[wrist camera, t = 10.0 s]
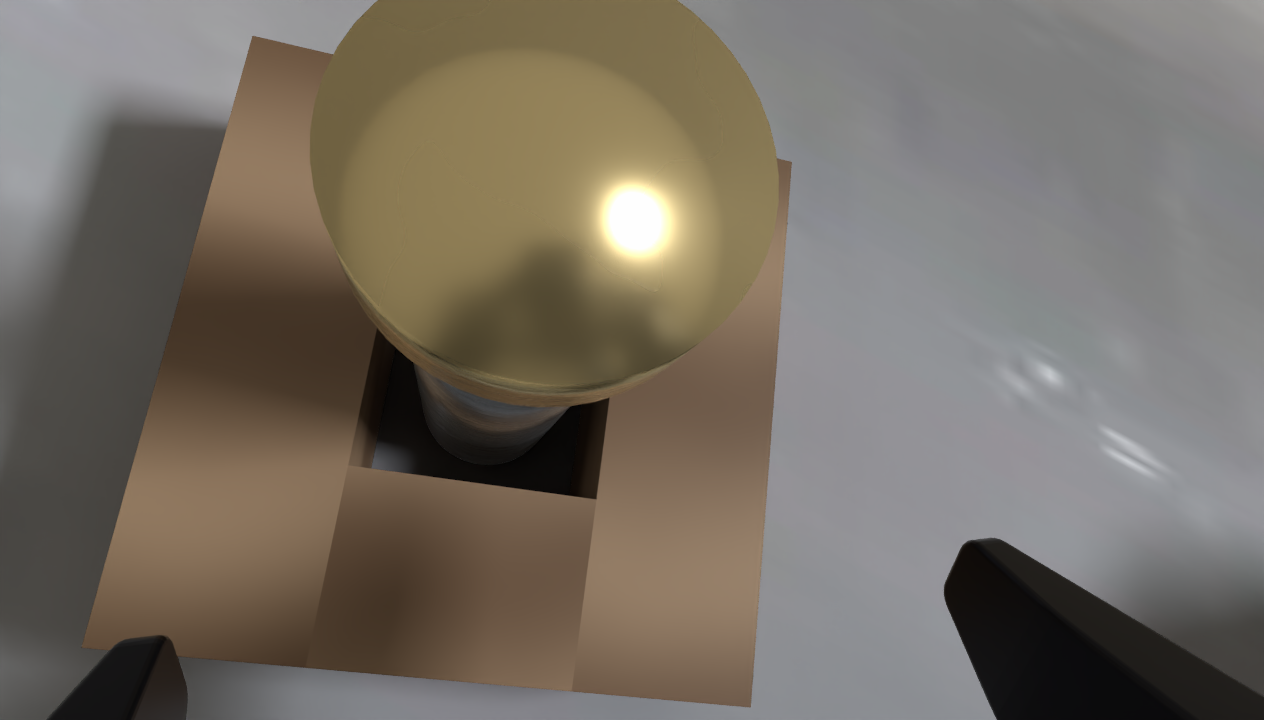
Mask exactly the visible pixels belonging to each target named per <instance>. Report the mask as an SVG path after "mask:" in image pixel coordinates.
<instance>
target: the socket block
mask: <svg viewBox="0 0 1264 720" xmlns="http://www.w3.org/2000/svg"><path fill="white" fill-rule="evenodd" d="M332 57H333V54H328V53H324V52H320V51H315V50H311V49H307V48H303V47H298V46H294V45H290V44H285V43H281V42H277V41H273V40H268V39H264V38H260V37H256V36H252V40H251V43H250V47H249V51H248V54H247V58H246V61H245V65H244V68H243V72H242V76H241V79H240V83H239V86H238V90H237V93H236V97H235V101H234V104H233V108H232V111H231V115H230V118H229V122H228V126H227V129H226V133H225V136H224V140H223V143H222V147H221V151H220V154H219V158H218V161H217V165H216V168H215V172H214V176H213V179H212V183H211V186H210V190H209V193H208V197H207V201H206V204H205V208H204V211H203V215H202V218H201V222H200V226H199V229H198V233H197V236H196V240H195V243H194V247H193V251H192V254H191V258H190V261H189V265H188V268H187V272H186V276H185V279H184V283H183V286H182V290H181V293H180V297H179V301H178V304H177V308H176V311H175V315H174V318H173V322H172V326H171V329H170V333H169V336H168V340H167V343H166V347H165V351H164V354H163V358H162V361H161V365H160V369H159V372H158V376H157V379H156V383H155V386H154V390H153V394H152V397H151V401H150V404H149V408H148V411H147V415H146V419H145V422H144V426H143V429H142V433H141V436H140V440H139V444H138V447H137V451H136V454H135V458H134V461H133V465H132V469H131V472H130V476H129V479H128V483H127V486H126V490H125V494H124V497H123V501H122V504H121V508H120V511H119V515H118V519H117V522H116V526H115V529H114V533H113V536H112V540H111V544H110V547H109V551H108V554H107V558H106V561H105V565H104V569H103V572H102V576H101V579H100V583H99V586H98V590H97V594H96V597H95V601H94V604H93V608H92V611H91V615H90V619H89V622H88V626H87V629H86V633H85V636H84V640H83V644H82V647H81V648H90V649H101V650H110V649H111V648H112V647H113V646H114V645H116V644H117V643H119V642H120V641H122V640H124V639H128V638H136V637H144V636H153V635H166V636H168V637H169V638H170V639H171V641H172V643H173V645H174V648H175V651H176V654H177V656H180V657H191V658H202V659H214V660H225V661H236V662H247V663H258V664H270V665H281V666H292V667H303V668H315V669H326V670H337V671H348V672H360V673H371V674H382V675H393V676H404V677H416V678H427V679H438V680H449V681H461V682H472V683H483V684H494V685H505V686H517V687H528V688H539V689H550V690H562V691H573V692H584V693H595V694H606V695H618V696H629V697H640V698H651V699H663V700H674V701H685V702H696V703H708V704H719V705H730V706H741V707H751V695H752V682H753V668H754V655H755V642H756V629H757V615H758V602H759V589H760V576H761V562H762V549H763V536H764V523H765V509H766V496H767V483H768V470H769V456H770V443H771V430H772V417H773V403H774V390H775V377H776V364H777V350H778V337H779V324H780V311H781V297H782V284H783V271H784V258H785V244H786V231H787V218H788V205H789V191H790V178H791V165H792V162H790V161H785V160H781V159H777V165H778V174H779V201H778V209H777V216H776V223H775V229H774V233H773V236H772V239H771V243H770V246H769V250H768V253H767V256H766V258H765V260H764V262H763V265H762V267H761V269H760V271H759V273H758V276H757V278H756V280H755V281H754V283H753V284H752V286H751V287H750V289H749V291H748V292H747V294H746V295H745V297H744V298H743V300H742V301H741V303H740V304H739V305H738V306H737V307H736V308H735V310H734V311H733V312H732V313H731V314H730V315H729V316H728V318H727V319H726V320H725V321H724V322H723V323H722V324H721V325H720V326H719V327H718V328H716V329H715V330H714V331H713V332H712V333H711V334H709V335H708V336H707V337H706V338H705V339H704V340H703V341H701V342H700V343H699V344H697V345H696V346H695V347H694V348H692V349H691V350H690V351H689V352H687V353H686V354H685V355H683V356H682V357H681V358H680V359H678V360H677V361H676V362H674V363H673V364H672V365H671V366H669V367H668V368H667V369H665V370H664V371H662V372H661V373H659V374H658V375H656V376H655V377H653V378H651V379H650V380H648V381H647V382H645V383H643V384H641V385H639V386H637V387H635V388H633V389H631V390H628V391H626V392H624V393H622V394H619V395H616V396H613V397H610V398H606V399H603V400H600V401H597V402H592V403H586V404H582V405H581V412H580V420H579V427H578V434H577V441H576V449H575V456H574V463H573V470H572V478H571V485H570V492H569V496H567V495H560V494H552V493H545V492H538V491H531V490H523V489H516V488H509V487H502V486H494V485H487V484H480V483H473V482H465V481H458V480H451V479H444V478H436V477H429V476H422V475H415V474H407V473H400V472H393V471H386V470H378V469H371V467H372V462H373V457H374V452H375V447H376V442H377V437H378V432H379V427H380V422H381V417H382V412H383V408H384V403H385V398H386V393H387V388H388V383H389V378H390V373H391V368H392V363H393V358H394V353H395V348H396V347H395V346H394V345H392V344H391V343H390V342H389V341H388V340H387V339H386V338H385V337H384V335H383V334H382V333H381V332H380V331H379V330H378V328H377V327H376V326H375V325H374V324H373V322H372V321H371V320H370V319H369V318H368V316H367V315H366V313H365V311H364V310H363V308H362V307H361V305H360V303H359V302H358V300H357V299H356V297H355V296H354V294H353V292H352V290H351V287H350V285H349V283H348V281H347V279H346V276H345V274H344V272H343V270H342V267H341V265H340V262H339V260H338V257H337V255H336V252H335V250H334V247H333V245H332V242H331V240H330V237H329V235H328V232H327V230H326V227H325V225H324V222H323V219H322V216H321V213H320V209H319V206H318V202H317V199H316V195H315V192H314V187H313V180H312V172H311V165H310V127H311V122H312V116H313V110H314V104H315V99H316V96H317V93H318V90H319V87H320V84H321V81H322V78H323V75H324V72H325V70H326V68H327V66H328V64H329V62H330V60H331V59H332Z"/></svg>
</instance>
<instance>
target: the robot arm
mask: <svg viewBox="0 0 1264 720" xmlns="http://www.w3.org/2000/svg"><path fill="white" fill-rule="evenodd" d="M944 597H945V602H946V605H947V607H948V610H949V612H950V614H951V617H952V619H953V621H954V623H955V626H956V628H957V630H958V633H959V635H960V637H961V640H962V642H963V644H964V647H965V649H966V651H967V654H968V656H969V658H970V660H971V663H972V665H973V667H974V670H975V672H976V674H977V677H978V679H979V681H980V684H981V686H982V688H983V691H984V693H985V695H986V697H987V700H988V702H989V704H990V706H991V708H992V710H993V713H994V715H995V717H996V719H997V720H1264V697H1263V696H1262V695H1260V694H1258V693H1257V692H1255V691H1253V690H1252V689H1250V688H1248V687H1247V686H1245V685H1243V684H1242V683H1240V682H1238V681H1237V680H1235V679H1233V678H1232V677H1230V676H1228V675H1227V674H1225V673H1223V672H1222V671H1220V670H1218V669H1217V668H1215V667H1213V666H1212V665H1210V664H1208V663H1207V662H1205V661H1203V660H1202V659H1200V658H1198V657H1197V656H1195V655H1193V654H1192V653H1190V652H1188V651H1187V650H1185V649H1183V648H1182V647H1180V646H1178V645H1177V644H1175V643H1173V642H1172V641H1170V640H1168V639H1167V638H1165V637H1163V636H1161V635H1160V634H1158V633H1156V632H1155V631H1153V630H1151V629H1150V628H1148V627H1146V626H1145V625H1143V624H1141V623H1140V622H1138V621H1136V620H1135V619H1133V618H1131V617H1130V616H1128V615H1126V614H1125V613H1123V612H1121V611H1120V610H1118V609H1116V608H1115V607H1113V606H1111V605H1110V604H1108V603H1106V602H1105V601H1103V600H1101V599H1100V598H1098V597H1096V596H1095V595H1093V594H1091V593H1090V592H1088V591H1086V590H1085V589H1083V588H1081V587H1080V586H1078V585H1076V584H1075V583H1073V582H1071V581H1070V580H1068V579H1066V578H1065V577H1063V576H1061V575H1060V574H1058V573H1056V572H1055V571H1053V570H1051V569H1050V568H1048V567H1046V566H1045V565H1043V564H1041V563H1039V562H1038V561H1036V560H1034V559H1033V558H1031V557H1029V556H1028V555H1026V554H1024V553H1023V552H1021V551H1019V550H1018V549H1016V548H1014V547H1013V546H1011V545H1009V544H1008V543H1006V542H1004V541H1002V540H1000V539H997V538H986V539H977V540H970V541H967V542H966V543H965V544H963V546H962V547H961V549H960V551H959V553H958V555H957V558H956V560H955V562H954V564H953V566H952V568H951V571H950V573H949V575H948V577H947V579H946V582H945V585H944ZM187 703H188V694H187V686H186V682H185V679H184V676H183V673H182V670H181V667H180V664H179V660H178V657H177V654H176V651H175V648H174V645H173V643H172V641H171V639H170V638H169V637H168V636H166V635H153V636H144V637H136V638H128V639H124V640H122V641H120V642H119V643H117V644H116V645H114V646H113V647H112V648H111V649H110V650H109V652H108V653H107V654H106V655H105V656H104V657H103V658H102V659H101V660H100V661H99V663H98V664H97V665H96V666H95V667H94V668H93V669H92V670H91V671H90V672H89V673H88V675H87V676H86V677H85V678H84V679H83V680H82V681H81V682H80V683H79V684H78V686H77V687H76V688H75V689H74V690H73V691H72V692H71V693H70V694H69V695H68V697H67V698H66V699H65V700H64V701H63V702H62V703H61V704H60V705H59V706H58V707H57V709H56V710H55V711H54V712H53V713H52V714H51V715H50V716H49V717H48V718H47V720H186V714H187Z"/></svg>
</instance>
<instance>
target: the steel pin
mask: <svg viewBox="0 0 1264 720" xmlns="http://www.w3.org/2000/svg"><path fill="white" fill-rule="evenodd" d="M310 165H311V172H312V180H313V187H314V192H315V195H316V199H317V202H318V206H319V209H320V213H321V216H322V219H323V222H324V225H325V227H326V230H327V232H328V235H329V237H330V240H331V242H332V245H333V247H334V250H335V252H336V255H337V257H338V260H339V262H340V265H341V267H342V270H343V272H344V274H345V276H346V279H347V281H348V283H349V285H350V287H351V290H352V292H353V294H354V296H355V297H356V299H357V300H358V302H359V303H360V305H361V307H362V308H363V310H364V311H365V313H366V315H367V316H368V318H369V319H370V320H371V321H372V322H373V324H374V325H375V326H376V327H377V328H378V330H379V331H380V332H381V333H382V334H383V335H384V337H385V338H386V339H387V340H388V341H389V342H390V343H391V344H392V345H394V346H395V347H396V348H397V349H398V350H399V351H400V352H401V353H402V354H403V355H405V356H406V357H407V358H408V359H409V360H411V361H412V362H413V363H414V368H415V372H416V377H417V382H418V387H419V392H420V397H421V402H422V407H423V412H424V416H425V420H426V423H427V425H428V428H429V430H430V432H431V434H432V435H433V437H434V438H435V440H436V441H437V442H438V443H439V444H440V445H441V446H442V447H443V448H444V449H445V450H446V451H447V452H449V453H450V454H452V455H453V456H455V457H457V458H459V459H461V460H463V461H466V462H469V463H473V464H478V465H496V464H502V463H506V462H509V461H512V460H514V459H516V458H518V457H520V456H522V455H523V454H525V453H526V452H528V451H529V450H530V449H531V448H532V447H533V446H534V445H535V444H536V443H537V442H538V441H539V440H540V439H541V438H542V437H543V436H544V435H545V433H546V432H547V431H548V430H549V429H550V428H551V427H552V426H553V425H554V424H555V423H556V421H557V420H558V419H559V418H560V417H561V416H562V415H563V414H564V413H565V412H566V411H567V410H568V408H569V407H570V406H574V405H580V404H586V403H592V402H597V401H600V400H603V399H606V398H610V397H613V396H616V395H619V394H622V393H624V392H626V391H628V390H631V389H633V388H635V387H637V386H639V385H641V384H643V383H645V382H647V381H648V380H650V379H651V378H653V377H655V376H656V375H658V374H659V373H661V372H662V371H664V370H665V369H667V368H668V367H669V366H671V365H672V364H673V363H674V362H676V361H677V360H678V359H680V358H681V357H682V356H683V355H685V354H686V353H687V352H689V351H690V350H691V349H692V348H694V347H695V346H696V345H697V344H699V343H700V342H701V341H703V340H704V339H705V338H706V337H707V336H708V335H709V334H711V333H712V332H713V331H714V330H715V329H716V328H718V327H719V326H720V325H721V324H722V323H723V322H724V321H725V320H726V319H727V318H728V316H729V315H730V314H731V313H732V312H733V311H734V310H735V308H736V307H737V306H738V305H739V304H740V303H741V301H742V300H743V298H744V297H745V295H746V294H747V292H748V291H749V289H750V287H751V286H752V284H753V283H754V281H755V280H756V278H757V276H758V273H759V271H760V269H761V267H762V265H763V262H764V260H765V258H766V256H767V253H768V250H769V246H770V243H771V239H772V236H773V233H774V229H775V223H776V216H777V209H778V201H779V174H778V165H777V157H776V149H775V145H774V141H773V137H772V133H771V129H770V125H769V122H768V120H767V117H766V114H765V112H764V109H763V107H762V104H761V102H760V99H759V97H758V95H757V93H756V91H755V89H754V88H753V86H752V84H751V82H750V80H749V78H748V76H747V74H746V73H745V71H744V70H743V69H742V67H741V66H740V64H739V63H738V61H737V60H736V58H735V57H734V55H733V54H732V53H731V51H730V50H729V49H728V48H727V47H726V45H725V44H724V43H723V42H722V41H721V40H720V38H719V37H718V36H717V35H716V34H715V33H714V32H713V30H711V29H710V28H709V27H708V26H707V25H706V24H705V23H704V22H703V21H702V20H701V19H700V18H699V17H697V16H696V15H695V14H694V13H693V12H692V11H691V10H689V9H688V8H687V7H685V6H684V5H683V4H681V3H680V2H679V1H677V0H378V1H377V2H375V3H374V4H373V5H372V6H371V7H370V8H369V9H368V10H367V11H366V12H365V13H364V14H363V15H362V16H361V17H360V18H359V19H358V20H357V21H356V22H355V23H354V25H353V26H352V28H351V29H350V30H349V32H348V33H347V34H346V36H345V37H344V39H343V40H342V41H341V43H340V44H339V45H338V47H337V49H336V51H335V53H334V55H333V57H332V59H331V60H330V62H329V64H328V66H327V68H326V70H325V72H324V75H323V78H322V81H321V84H320V87H319V90H318V93H317V96H316V99H315V104H314V110H313V116H312V122H311V127H310Z"/></svg>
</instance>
